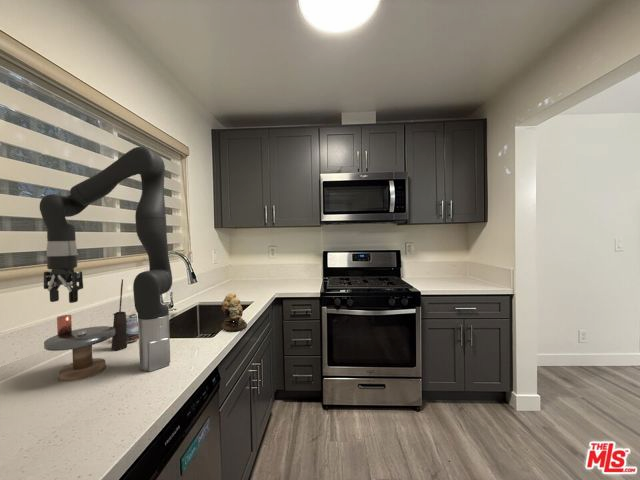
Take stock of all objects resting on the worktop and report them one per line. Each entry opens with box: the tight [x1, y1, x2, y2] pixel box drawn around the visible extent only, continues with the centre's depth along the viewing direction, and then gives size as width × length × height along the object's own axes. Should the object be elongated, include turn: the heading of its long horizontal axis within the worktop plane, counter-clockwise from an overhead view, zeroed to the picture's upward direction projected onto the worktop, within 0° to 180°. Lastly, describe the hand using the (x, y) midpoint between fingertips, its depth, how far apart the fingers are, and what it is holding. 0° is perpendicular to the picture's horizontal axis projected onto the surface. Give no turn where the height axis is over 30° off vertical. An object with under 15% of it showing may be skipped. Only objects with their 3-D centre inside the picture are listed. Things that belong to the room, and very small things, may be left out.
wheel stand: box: [57, 345, 107, 382], centre depth 93 cm, size 12×12×11 cm
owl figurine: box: [221, 292, 248, 332], centre depth 136 cm, size 18×12×17 cm, turn 29°
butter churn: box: [110, 279, 128, 352], centre depth 111 cm, size 9×10×28 cm
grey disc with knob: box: [43, 314, 115, 352], centre depth 93 cm, size 18×18×8 cm
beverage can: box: [126, 312, 139, 343], centre depth 120 cm, size 6×7×12 cm
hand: (63, 301), depth 94 cm, fingers open, 8 cm apart
